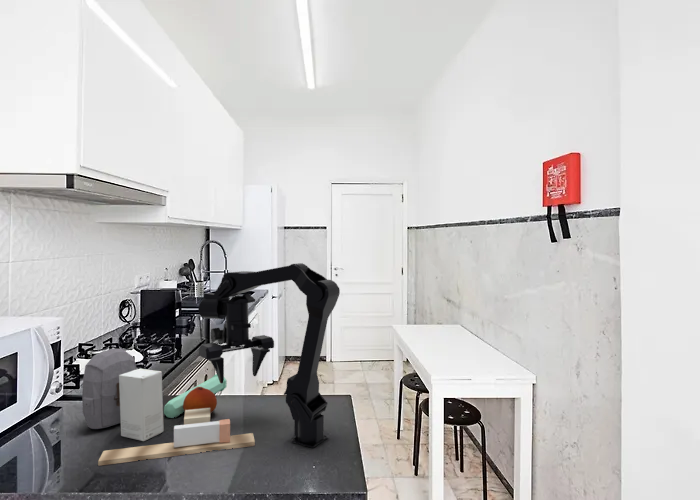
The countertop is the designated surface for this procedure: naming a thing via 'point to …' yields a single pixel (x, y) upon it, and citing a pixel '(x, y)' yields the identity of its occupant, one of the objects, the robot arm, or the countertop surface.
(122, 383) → the skincare box
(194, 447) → the plank
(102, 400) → the soft grey pack
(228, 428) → the white and pink block
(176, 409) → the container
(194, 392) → the fruit
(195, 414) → the wooden block
